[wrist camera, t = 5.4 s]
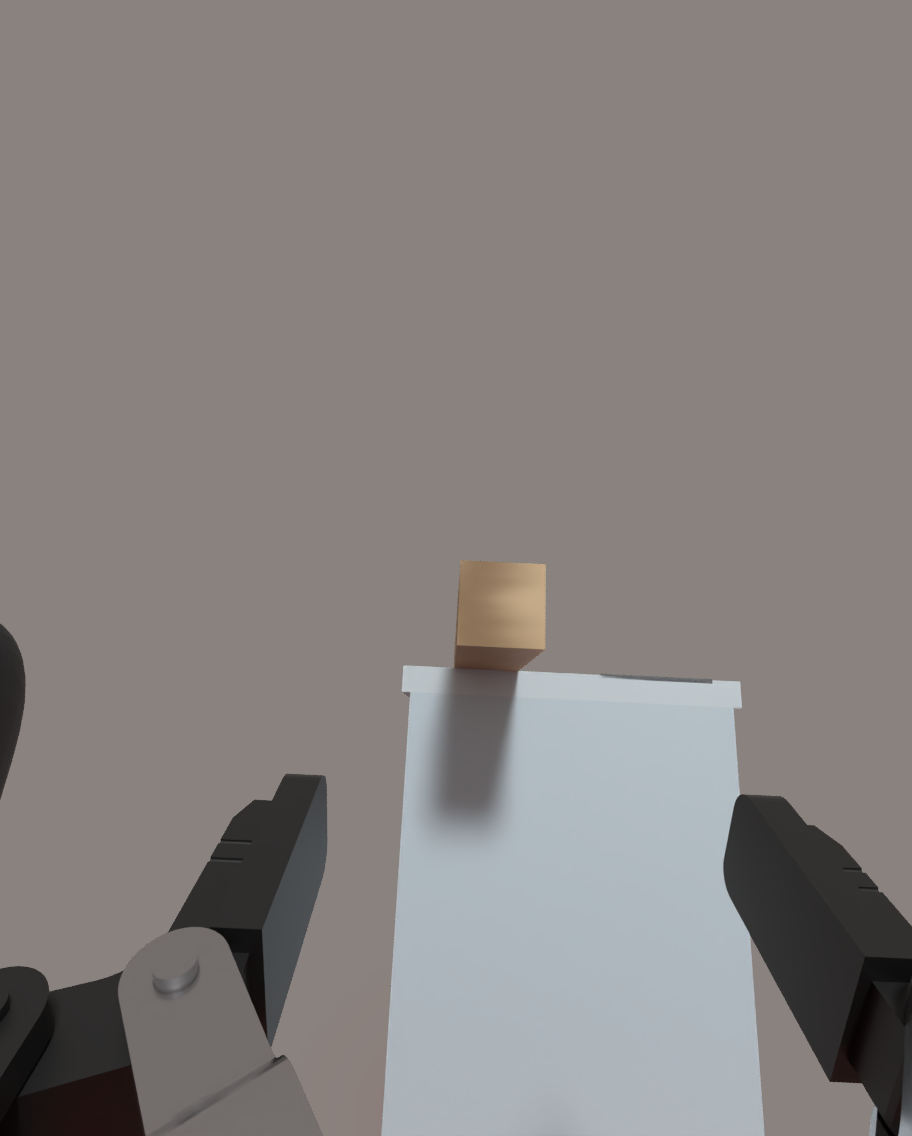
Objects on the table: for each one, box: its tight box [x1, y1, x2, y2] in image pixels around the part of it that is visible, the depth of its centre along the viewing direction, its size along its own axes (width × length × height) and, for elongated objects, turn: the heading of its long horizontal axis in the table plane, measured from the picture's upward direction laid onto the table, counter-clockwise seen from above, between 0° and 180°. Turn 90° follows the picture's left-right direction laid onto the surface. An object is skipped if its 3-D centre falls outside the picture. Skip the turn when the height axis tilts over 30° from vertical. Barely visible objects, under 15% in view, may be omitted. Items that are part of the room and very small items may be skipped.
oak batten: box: [454, 560, 546, 671], centre depth 31 cm, size 3×22×3 cm, turn 1°
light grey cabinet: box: [381, 666, 764, 1136], centre depth 30 cm, size 17×13×32 cm
